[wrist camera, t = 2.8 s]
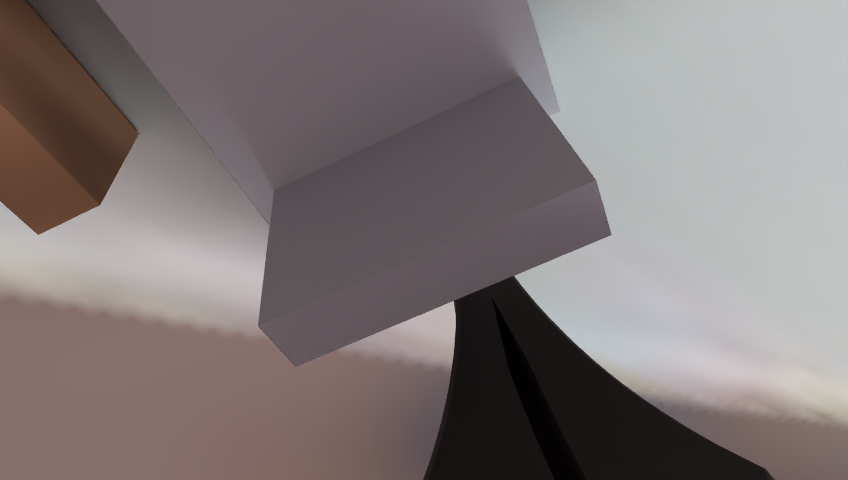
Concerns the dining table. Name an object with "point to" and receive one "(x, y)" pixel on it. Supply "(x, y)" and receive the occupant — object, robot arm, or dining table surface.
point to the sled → (375, 149)
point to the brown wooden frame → (52, 125)
